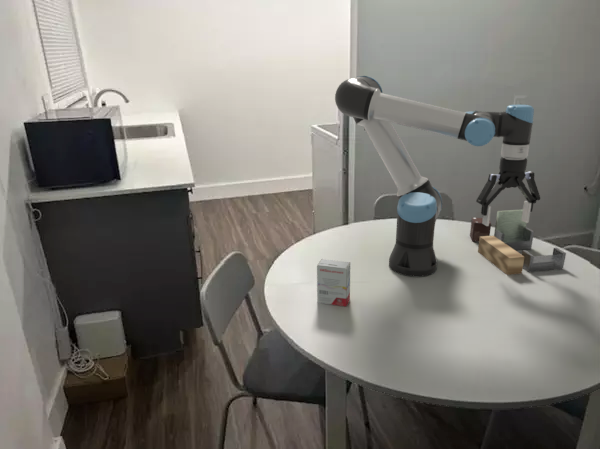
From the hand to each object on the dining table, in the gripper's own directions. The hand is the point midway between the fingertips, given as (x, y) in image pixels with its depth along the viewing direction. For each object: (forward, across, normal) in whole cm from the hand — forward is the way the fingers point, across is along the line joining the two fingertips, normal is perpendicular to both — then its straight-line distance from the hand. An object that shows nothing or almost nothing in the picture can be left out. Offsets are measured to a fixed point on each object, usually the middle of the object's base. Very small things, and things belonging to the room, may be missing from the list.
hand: (505, 223), depth 149 cm
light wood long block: (+14, 0, 0) cm, 14 cm away
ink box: (+14, -59, -15) cm, 63 cm away
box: (+14, +4, +20) cm, 25 cm away
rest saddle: (+14, +11, -6) cm, 18 cm away
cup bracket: (+14, +11, +10) cm, 20 cm away
